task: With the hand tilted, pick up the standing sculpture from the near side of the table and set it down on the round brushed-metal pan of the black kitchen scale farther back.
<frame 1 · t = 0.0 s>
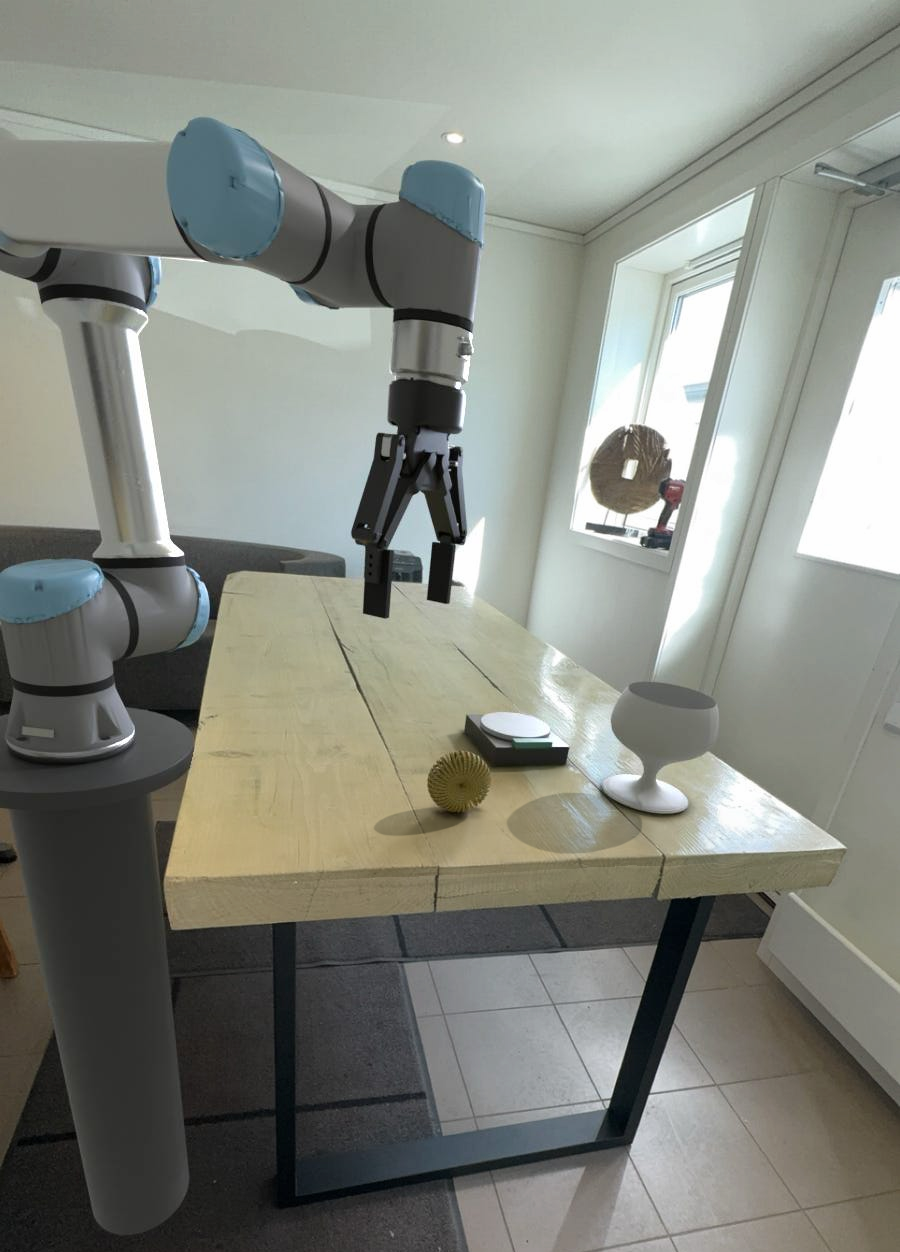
hand: (409, 608, 73), 24 cm above the table, tool pointing down, fingers open, 13 cm apart
chalice: (643, 797, 94), on the table
scale: (513, 747, 105), on the table
sculpture: (455, 811, 83), on the table
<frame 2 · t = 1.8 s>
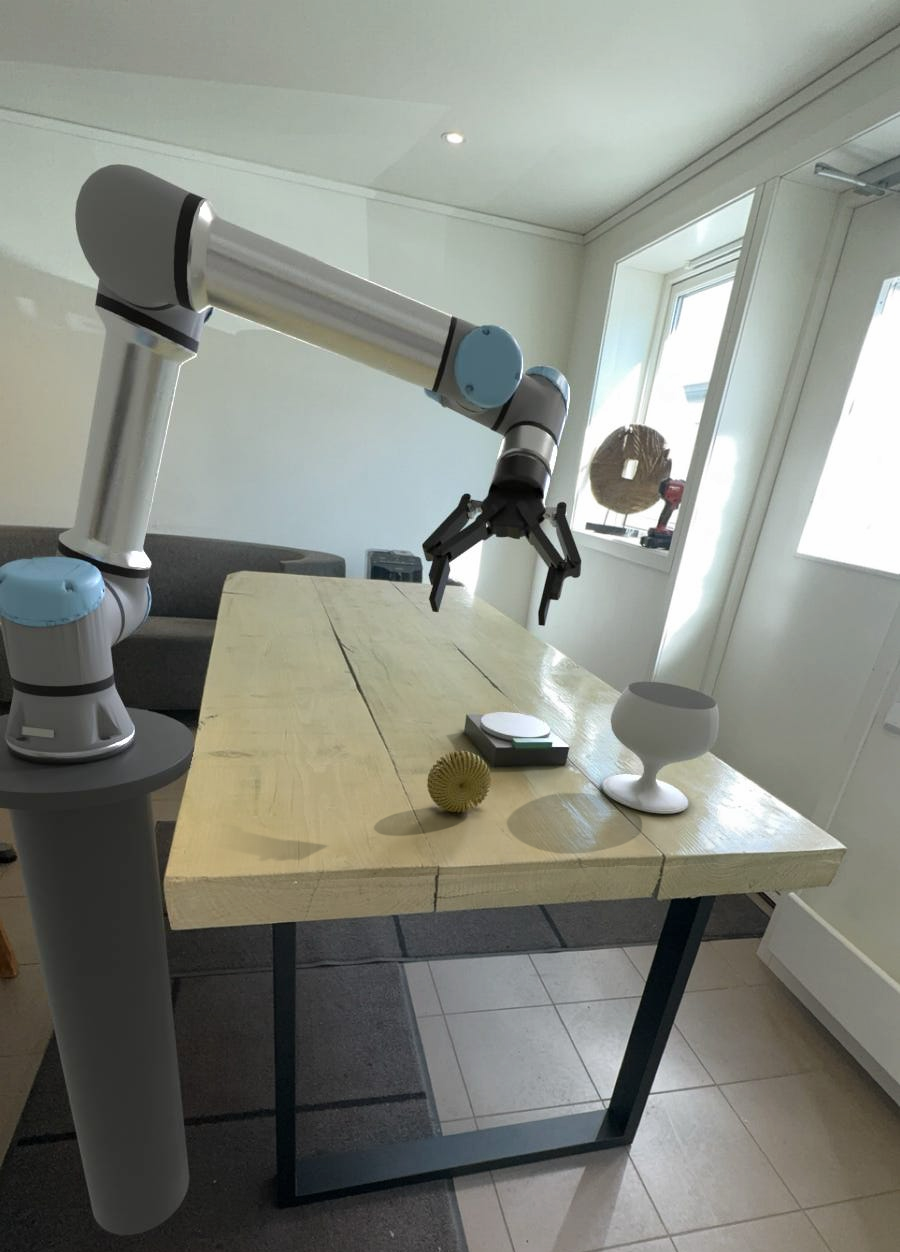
hand: (486, 612, 81), 23 cm above the table, tool tilted 45°, fingers open, 13 cm apart
nothing on the table moved.
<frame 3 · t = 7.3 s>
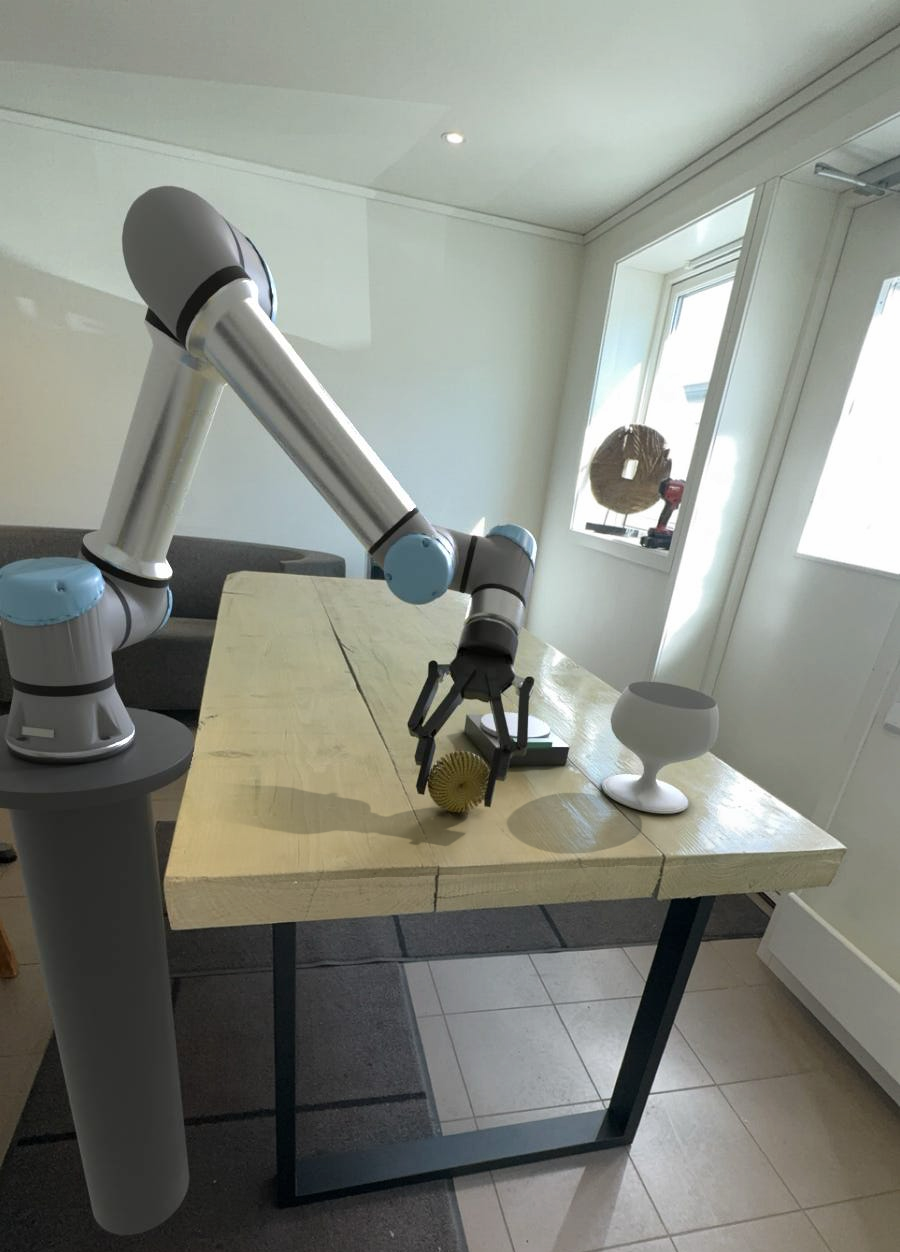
hand: (453, 796, 78), 4 cm above the table, tool tilted 45°, fingers closed on sculpture, 7 cm apart
sculpture: (455, 811, 83), on the table, touching gripper
everything else where it was.
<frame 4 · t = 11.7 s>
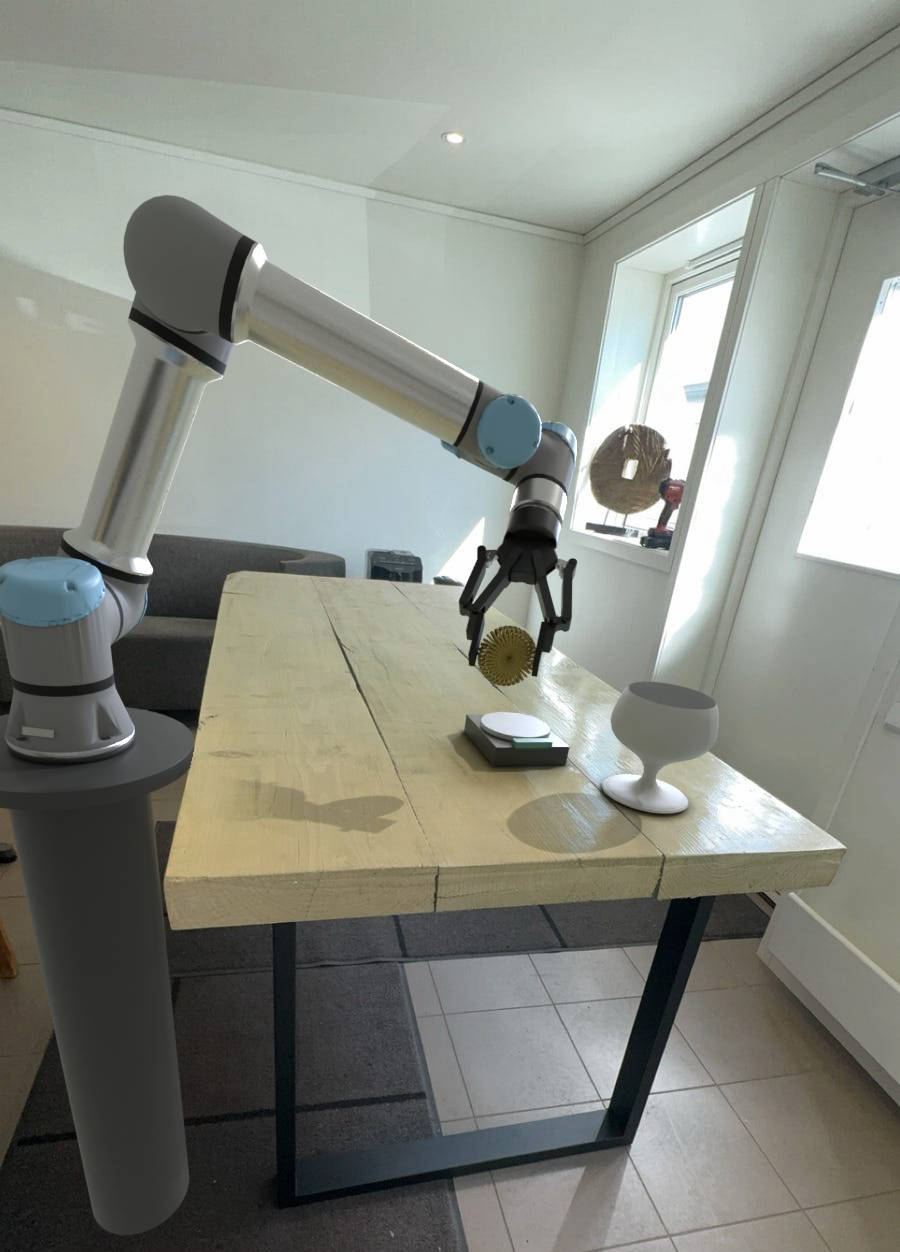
hand: (503, 665, 84), 17 cm above the table, tool tilted 45°, fingers closed on sculpture, 7 cm apart
sculpture: (502, 686, 89), point 13 cm above the table, touching gripper
everything else where it was.
when the fingers open (7 cm above the table, at t = 16.2 s): sculpture stays where it is, resting on scale.
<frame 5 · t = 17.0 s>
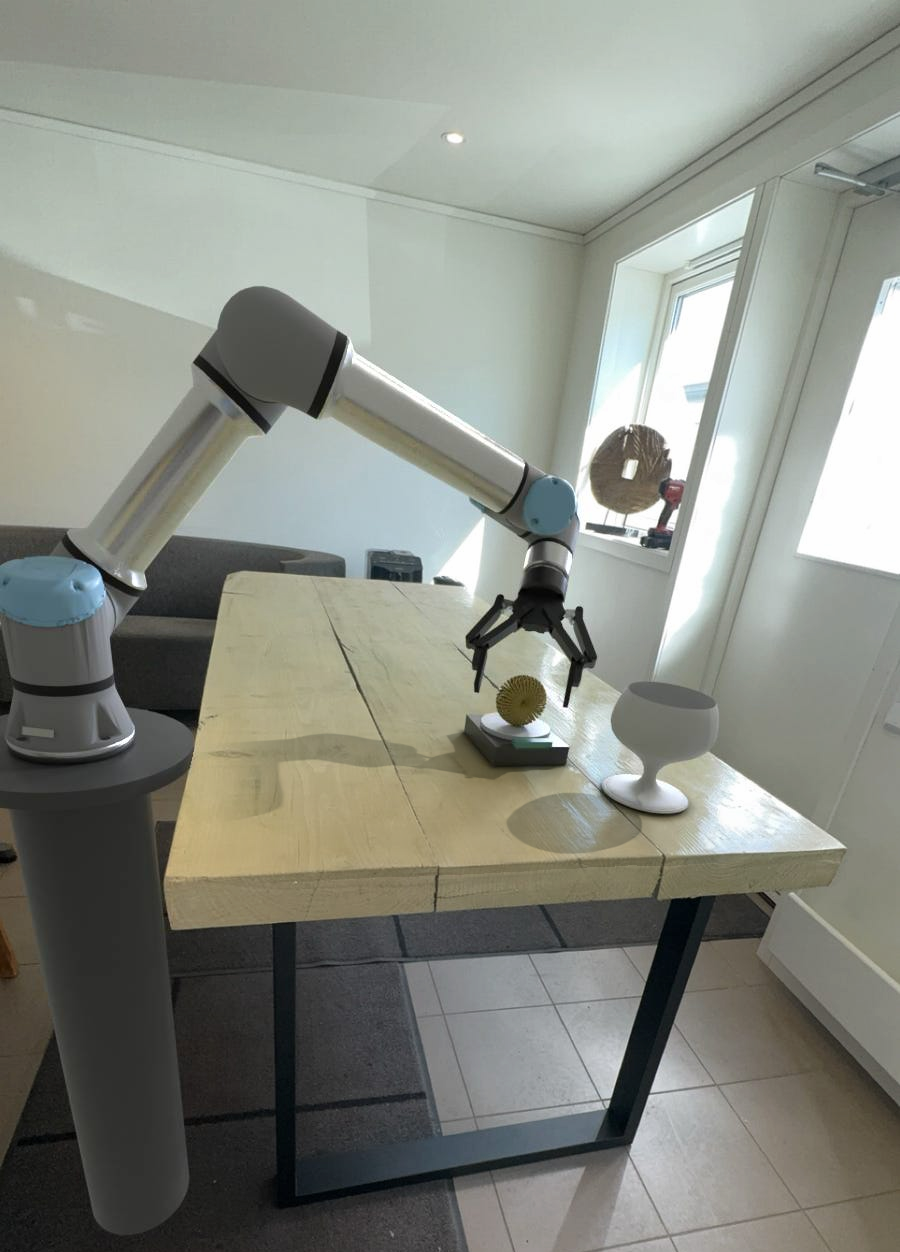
hand: (520, 696, 99), 9 cm above the table, tool tilted 45°, fingers open, 13 cm apart
sculpture: (516, 726, 103), point 4 cm above the table, touching scale
everything else where it was.
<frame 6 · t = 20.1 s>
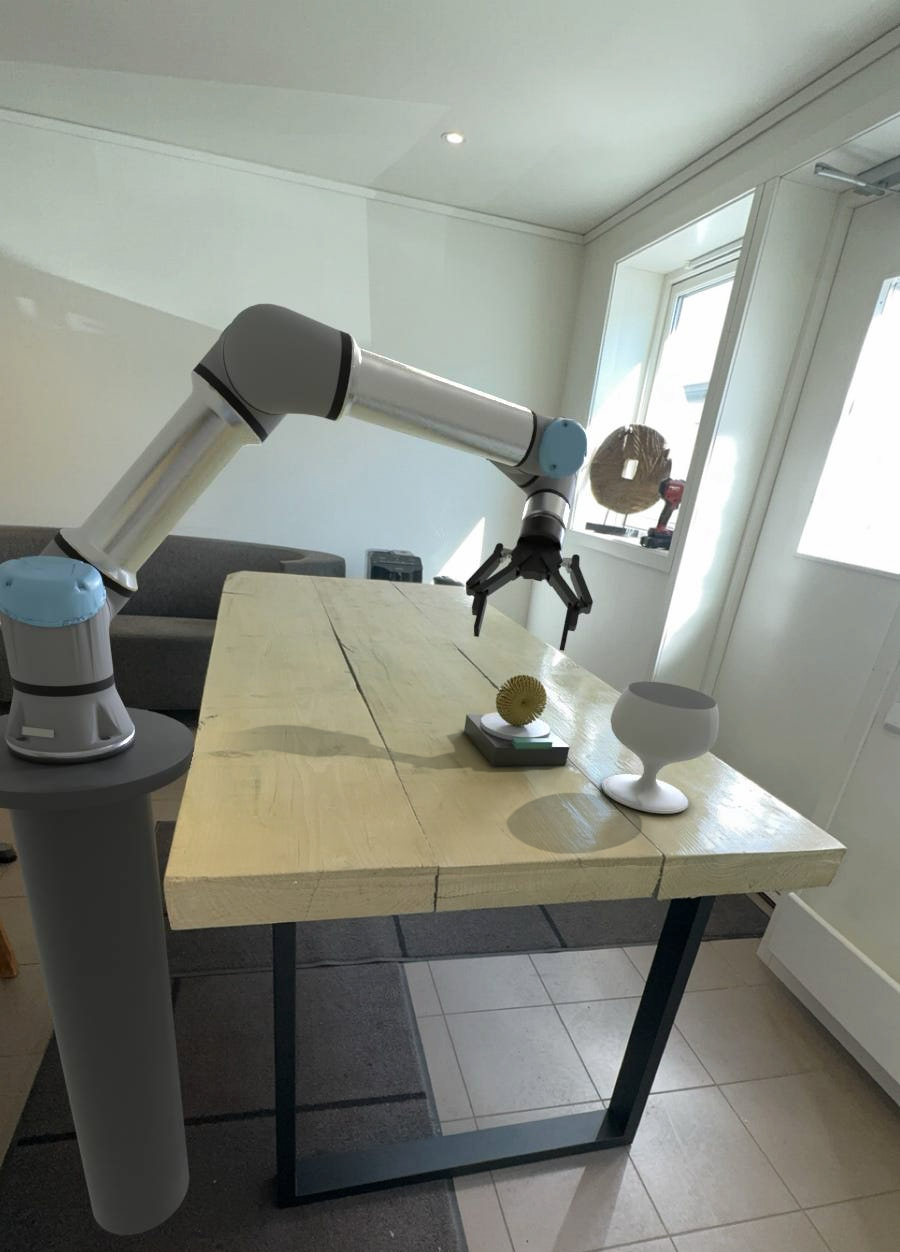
hand: (519, 638, 102), 16 cm above the table, tool tilted 45°, fingers open, 13 cm apart
nothing on the table moved.
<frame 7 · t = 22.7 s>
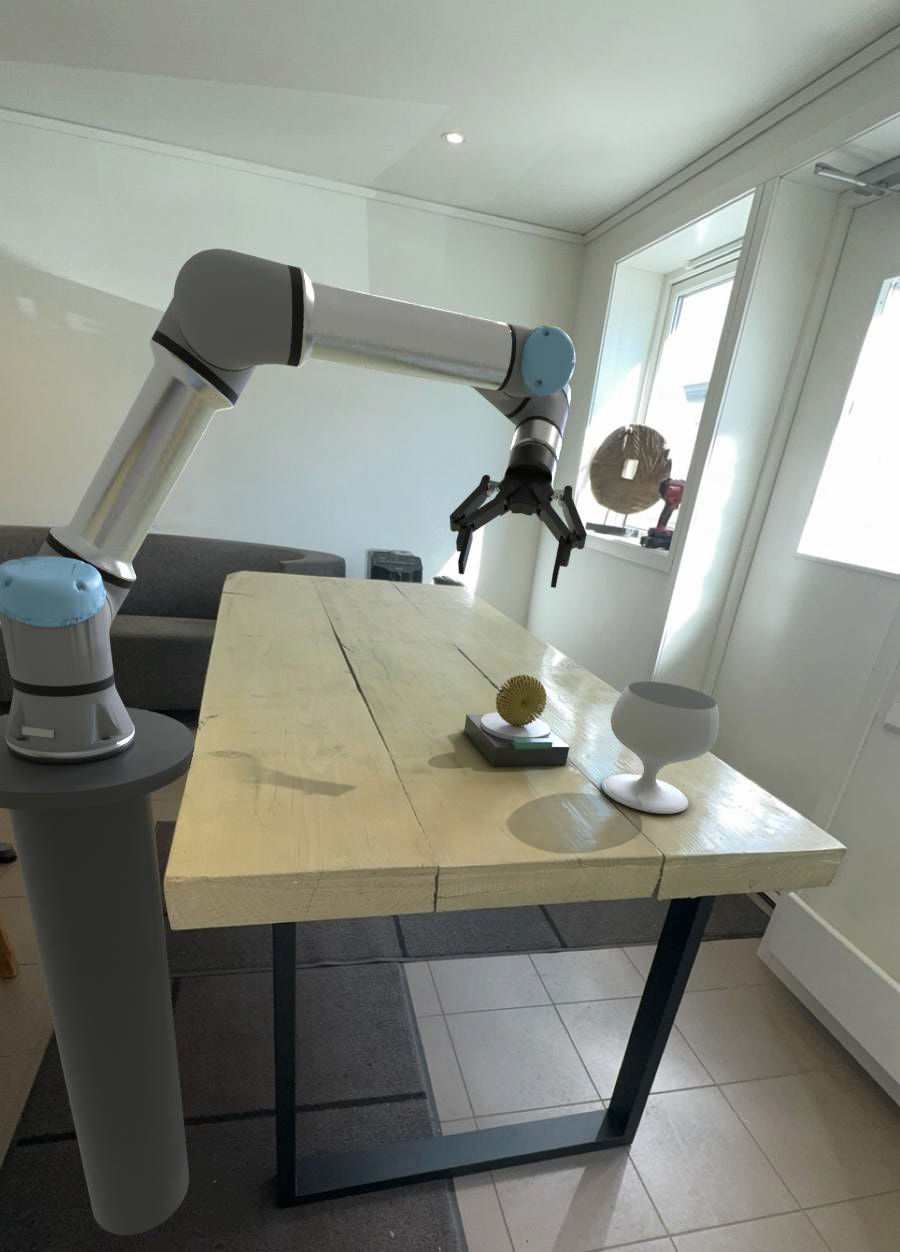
hand: (507, 575, 95), 26 cm above the table, tool tilted 45°, fingers open, 13 cm apart
nothing on the table moved.
at the end: sculpture inside the target area on the scale (0.5 cm from its centre), point 3.6 cm above the scale's base; sculpture touching scale; the gripper is holding nothing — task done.
